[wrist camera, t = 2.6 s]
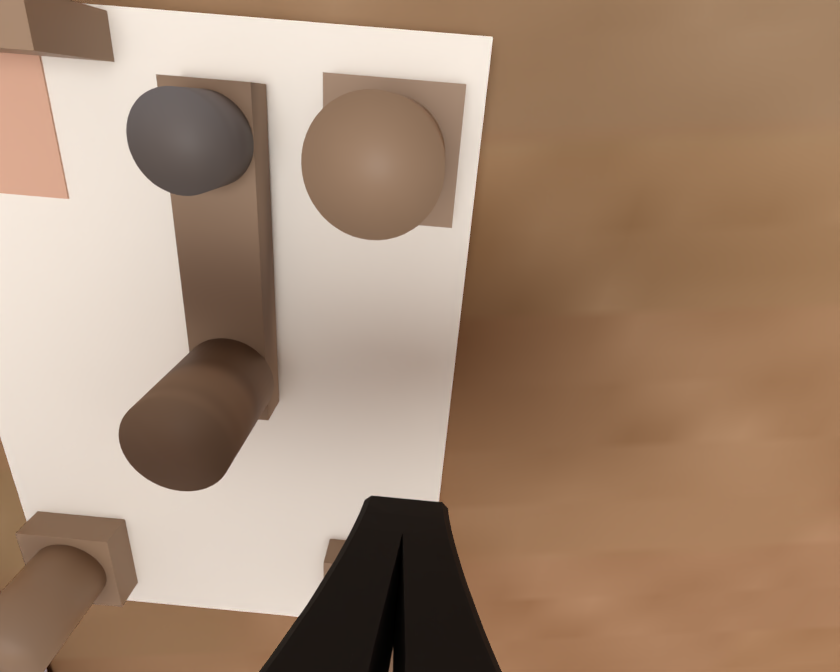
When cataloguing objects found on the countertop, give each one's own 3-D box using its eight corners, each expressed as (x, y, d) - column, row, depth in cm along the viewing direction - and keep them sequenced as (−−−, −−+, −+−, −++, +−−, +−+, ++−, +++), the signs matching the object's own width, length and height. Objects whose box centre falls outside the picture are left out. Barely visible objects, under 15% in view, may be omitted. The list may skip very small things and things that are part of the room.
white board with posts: (425, 593, 20) (418, 753, 15) (75, 560, 20) (-45, 707, 15) (487, 44, 12) (515, 2, 7) (-77, -2, 13) (-421, -74, 8)
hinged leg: (169, 75, 12) (44, 61, 8) (274, 84, 12) (195, 73, 8) (205, 394, 15) (127, 486, 11) (285, 402, 15) (234, 496, 11)
